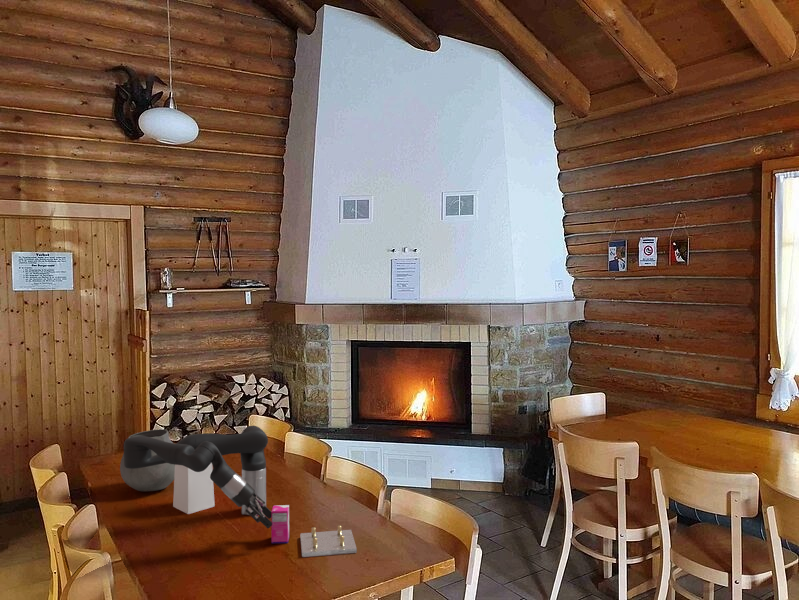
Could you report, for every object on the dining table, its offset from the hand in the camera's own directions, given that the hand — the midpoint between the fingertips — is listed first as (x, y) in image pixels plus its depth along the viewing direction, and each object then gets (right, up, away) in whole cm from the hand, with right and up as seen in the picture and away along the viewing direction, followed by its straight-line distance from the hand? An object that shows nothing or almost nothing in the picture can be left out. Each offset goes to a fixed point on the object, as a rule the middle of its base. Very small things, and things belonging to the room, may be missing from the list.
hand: (271, 521), depth 215 cm
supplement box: (+3, -8, +2) cm, 8 cm away
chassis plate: (+20, -8, -2) cm, 21 cm away
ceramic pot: (-64, -6, +55) cm, 85 cm away
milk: (-38, -7, +35) cm, 52 cm away
